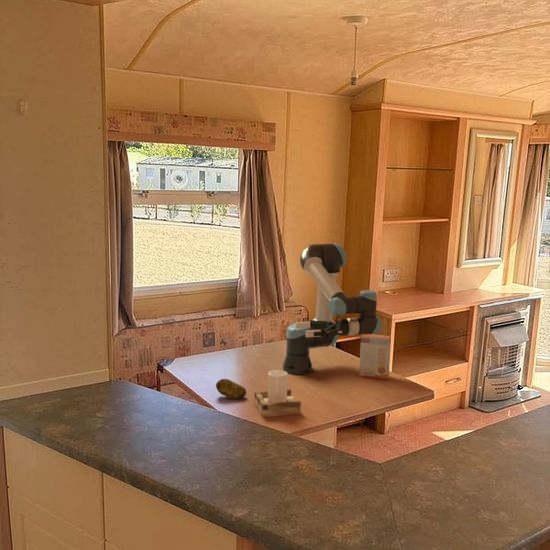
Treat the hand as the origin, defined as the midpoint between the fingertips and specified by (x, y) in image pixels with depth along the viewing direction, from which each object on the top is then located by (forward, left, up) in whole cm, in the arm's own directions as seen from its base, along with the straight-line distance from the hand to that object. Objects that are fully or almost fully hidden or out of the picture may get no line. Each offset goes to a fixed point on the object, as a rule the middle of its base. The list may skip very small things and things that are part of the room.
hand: (300, 329), depth 242 cm
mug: (+6, -12, -29) cm, 32 cm away
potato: (-10, -28, -32) cm, 44 cm away
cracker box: (-20, +45, -32) cm, 59 cm away
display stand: (+6, -12, -32) cm, 35 cm away
